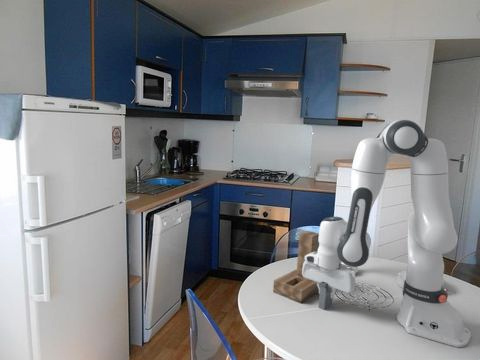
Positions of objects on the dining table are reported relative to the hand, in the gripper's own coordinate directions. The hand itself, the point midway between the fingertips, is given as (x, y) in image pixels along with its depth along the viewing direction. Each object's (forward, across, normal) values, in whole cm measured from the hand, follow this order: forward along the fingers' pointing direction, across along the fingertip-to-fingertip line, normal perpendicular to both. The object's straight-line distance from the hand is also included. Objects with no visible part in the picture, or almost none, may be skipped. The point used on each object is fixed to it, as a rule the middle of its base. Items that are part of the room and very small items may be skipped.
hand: (326, 295), depth 137 cm
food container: (+5, -20, -47) cm, 51 cm away
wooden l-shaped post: (+4, +14, -3) cm, 15 cm away
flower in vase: (+4, +9, -36) cm, 37 cm away
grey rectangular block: (+4, 0, 0) cm, 4 cm away
